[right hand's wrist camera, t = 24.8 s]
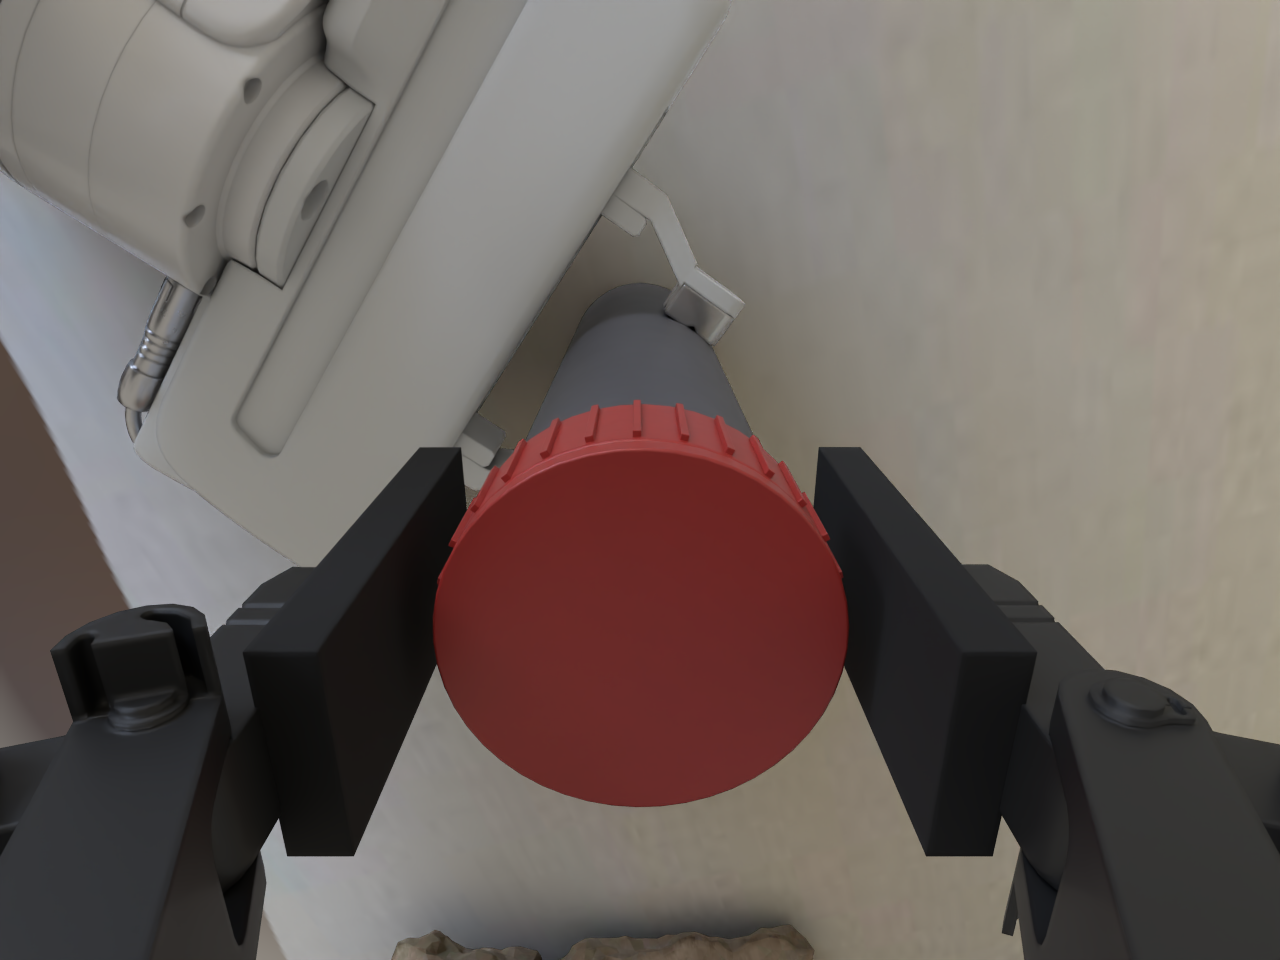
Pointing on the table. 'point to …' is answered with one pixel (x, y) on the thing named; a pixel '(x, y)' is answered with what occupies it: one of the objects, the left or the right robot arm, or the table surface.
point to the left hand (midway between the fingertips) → (665, 409)
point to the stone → (628, 948)
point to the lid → (640, 608)
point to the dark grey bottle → (638, 363)
